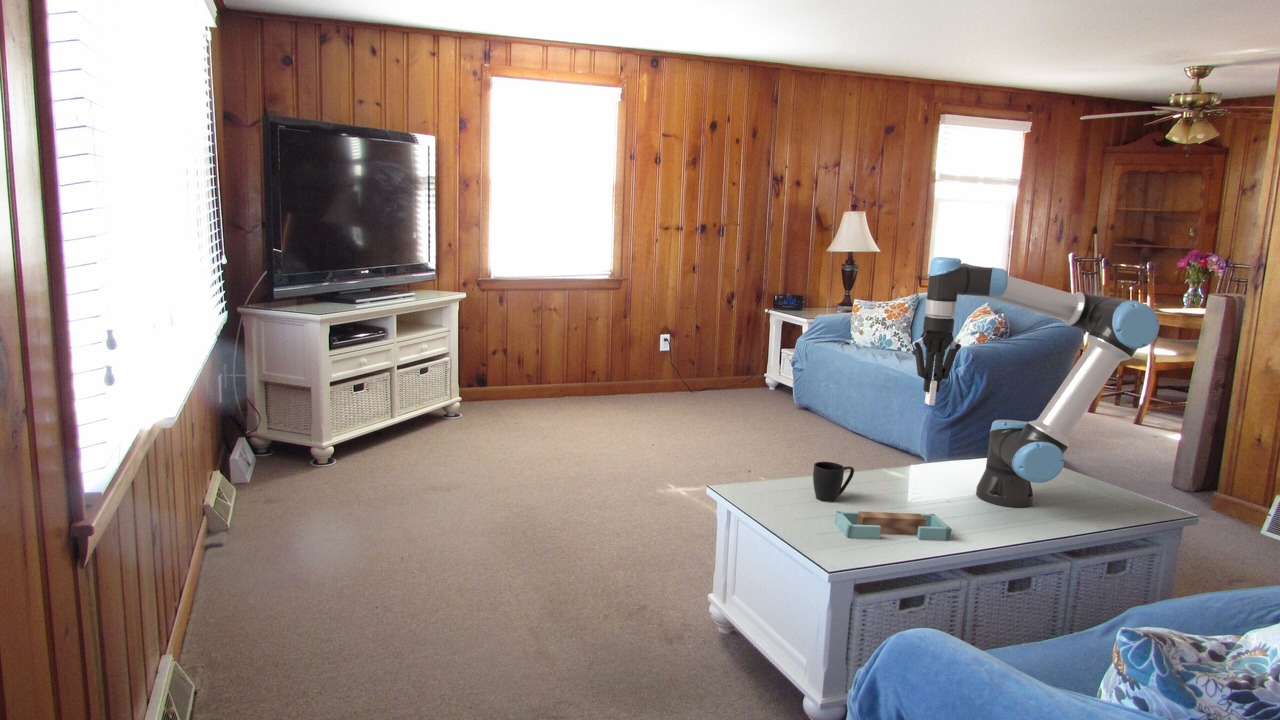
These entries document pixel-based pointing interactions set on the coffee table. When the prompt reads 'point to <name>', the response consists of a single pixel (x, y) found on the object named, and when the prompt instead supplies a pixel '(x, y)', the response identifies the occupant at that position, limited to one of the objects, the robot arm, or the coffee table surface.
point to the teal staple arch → (933, 529)
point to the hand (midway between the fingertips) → (929, 403)
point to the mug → (829, 480)
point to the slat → (893, 522)
